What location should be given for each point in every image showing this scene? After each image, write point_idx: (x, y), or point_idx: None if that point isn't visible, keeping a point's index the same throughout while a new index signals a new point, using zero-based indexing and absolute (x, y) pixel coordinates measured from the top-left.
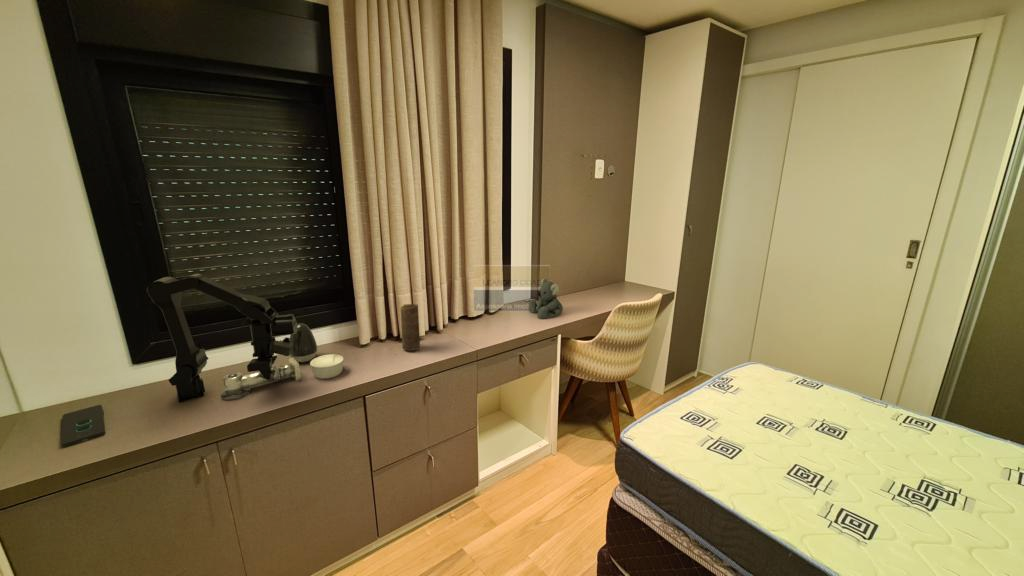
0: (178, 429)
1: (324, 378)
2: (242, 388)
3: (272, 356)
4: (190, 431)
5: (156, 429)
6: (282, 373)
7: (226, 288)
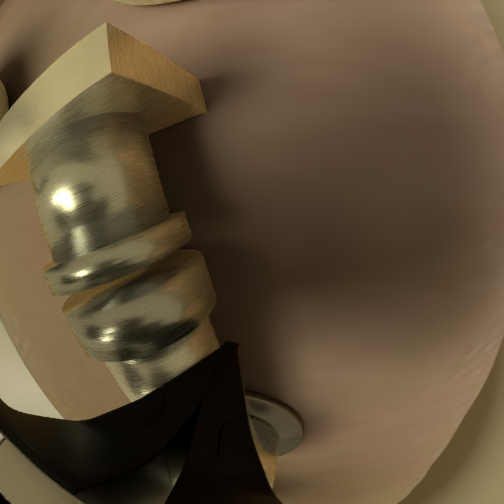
0: (397, 479)
1: None
2: (258, 436)
3: (6, 444)
4: (431, 462)
5: (357, 498)
6: (169, 232)
7: None
